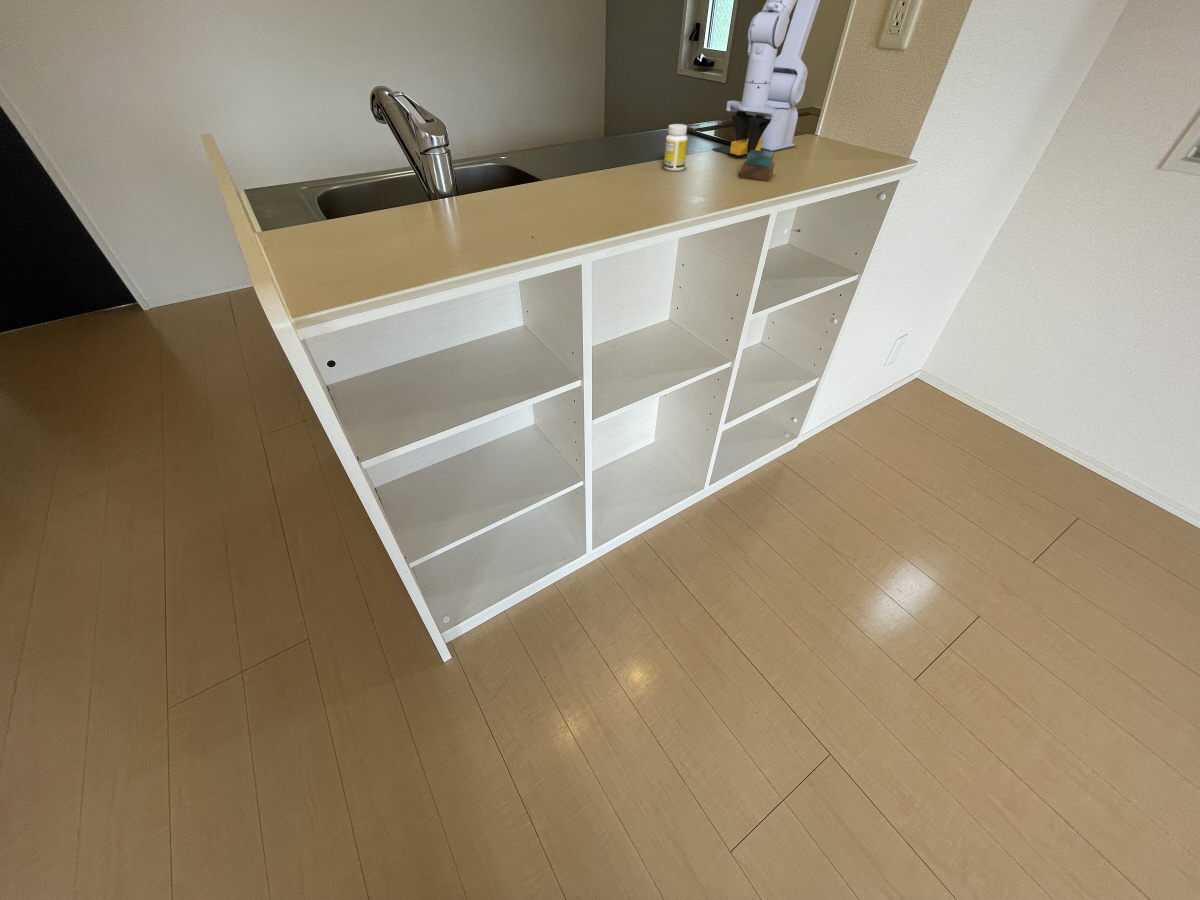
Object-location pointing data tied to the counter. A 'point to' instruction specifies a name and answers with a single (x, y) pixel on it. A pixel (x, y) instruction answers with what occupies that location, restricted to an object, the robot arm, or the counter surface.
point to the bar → (742, 146)
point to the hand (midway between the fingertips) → (745, 150)
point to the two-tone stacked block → (758, 165)
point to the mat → (727, 151)
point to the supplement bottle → (675, 147)
